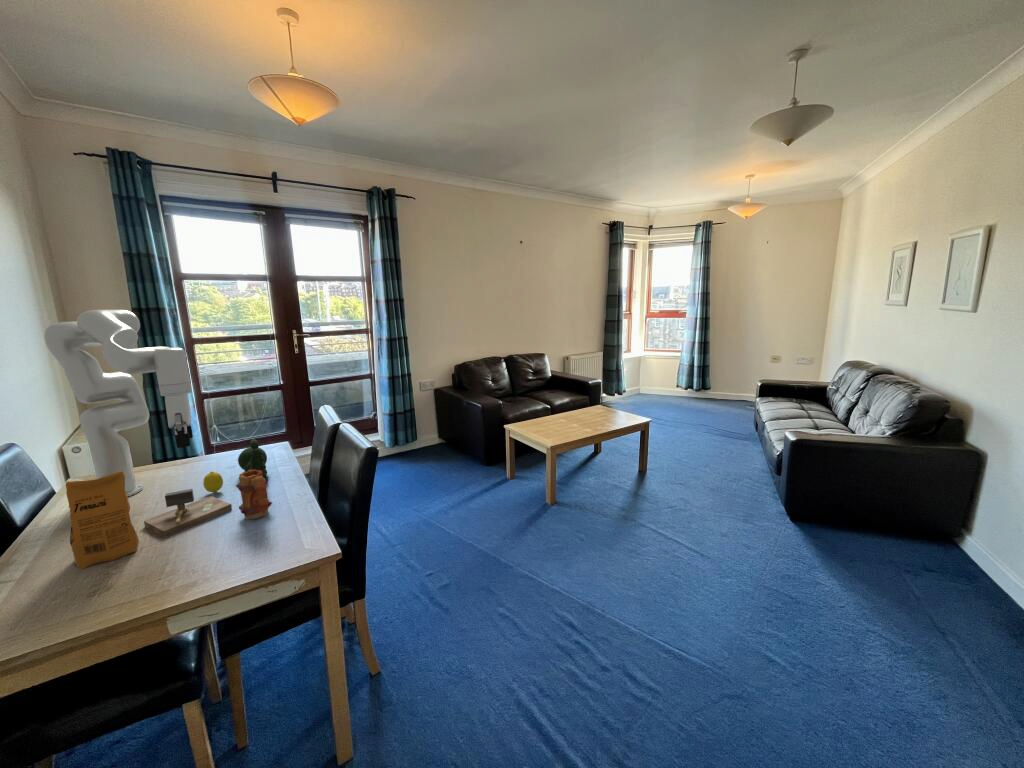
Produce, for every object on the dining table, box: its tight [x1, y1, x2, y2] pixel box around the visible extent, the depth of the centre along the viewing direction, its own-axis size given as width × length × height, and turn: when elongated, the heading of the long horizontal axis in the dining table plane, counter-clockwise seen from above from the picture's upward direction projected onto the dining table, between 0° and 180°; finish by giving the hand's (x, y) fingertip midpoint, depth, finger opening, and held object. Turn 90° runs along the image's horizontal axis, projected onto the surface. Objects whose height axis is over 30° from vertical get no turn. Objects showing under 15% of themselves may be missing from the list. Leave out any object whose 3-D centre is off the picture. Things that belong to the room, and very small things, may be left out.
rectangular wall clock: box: [143, 495, 233, 538], centre depth 126 cm, size 12×18×2 cm, turn 152°
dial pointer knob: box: [164, 488, 195, 523], centre depth 123 cm, size 9×6×6 cm
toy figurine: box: [237, 438, 269, 483], centre depth 153 cm, size 9×19×25 cm
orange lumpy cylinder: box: [235, 470, 273, 520], centre depth 125 cm, size 15×8×15 cm, turn 47°
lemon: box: [202, 471, 224, 494], centre depth 142 cm, size 6×6×8 cm
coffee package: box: [65, 471, 140, 569], centre depth 106 cm, size 10×12×22 cm
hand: (185, 442), depth 126 cm, fingers open, 9 cm apart
